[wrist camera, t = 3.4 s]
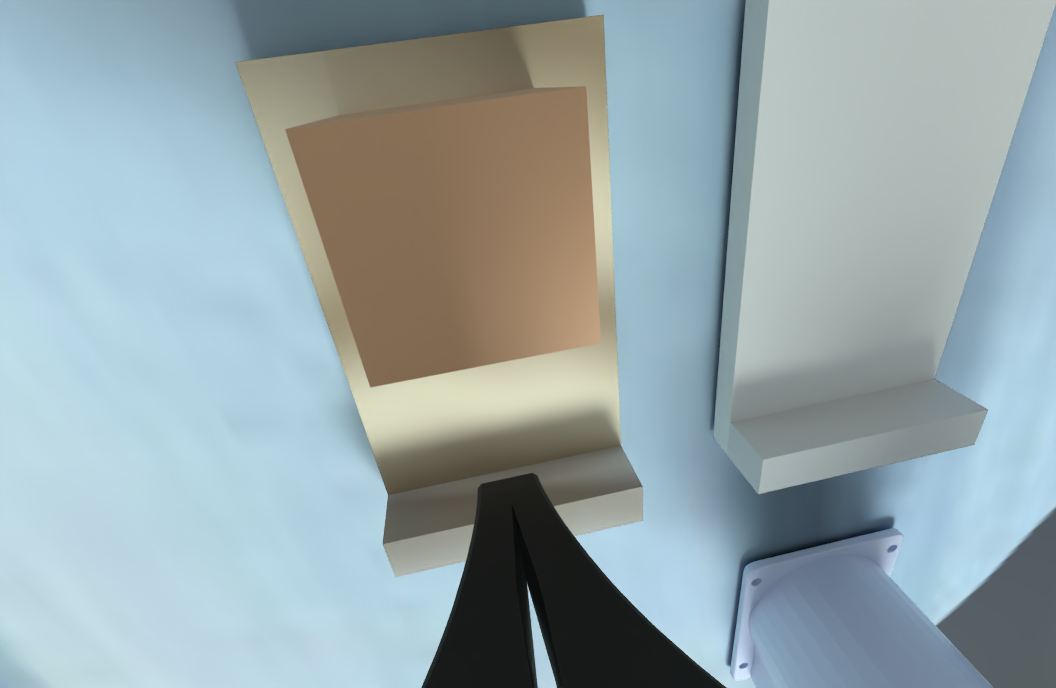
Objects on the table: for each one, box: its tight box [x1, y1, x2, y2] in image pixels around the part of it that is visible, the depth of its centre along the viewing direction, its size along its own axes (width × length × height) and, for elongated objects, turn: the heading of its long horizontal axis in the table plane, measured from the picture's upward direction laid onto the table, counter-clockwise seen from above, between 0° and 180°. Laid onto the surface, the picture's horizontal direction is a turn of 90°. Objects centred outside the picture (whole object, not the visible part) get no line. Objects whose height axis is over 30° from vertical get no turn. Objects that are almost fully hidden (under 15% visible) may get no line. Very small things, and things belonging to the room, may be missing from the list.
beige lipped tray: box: [235, 15, 643, 577], centre depth 14 cm, size 14×8×3 cm, turn 7°
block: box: [285, 86, 601, 388], centre depth 10 cm, size 4×4×4 cm
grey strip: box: [713, 0, 1056, 494], centre depth 15 cm, size 14×8×3 cm, turn 7°
